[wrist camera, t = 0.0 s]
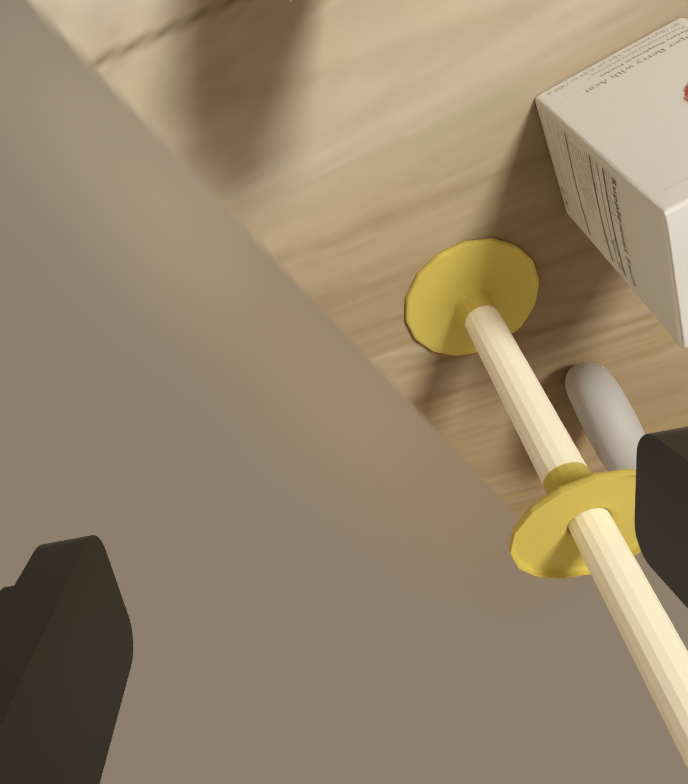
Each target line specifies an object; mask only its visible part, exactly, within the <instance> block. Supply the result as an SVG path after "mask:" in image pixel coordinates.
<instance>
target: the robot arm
mask: <svg viewBox="0 0 688 784" xmlns="http://www.w3.org/2000/svg"><path fill="white" fill-rule="evenodd" d="M634 522H635V533H636V538H637V541H638V544H639V547H640V550H641V552H642V554H643V556H644V558H645V559H646V561H647V563H648V564H649V565H650V567H651V568H652V569H653V570H654V571H655V572H656V573H657V574H658V576H659V577H660V578H661V579H662V580H663V581H664V582H665V583H666V584H667V585H668V587H669V588H670V589H671V590H672V591H673V592H674V593H675V595H676V596H677V597H678V598H679V599H680V600H681V601H682V602H683V603H684V605H685V606H686V607H687V608H688V427H683V428H677V429H672V430H667V431H661V432H656V433H650V434H646V435H643V436H642V437H641V438H640V440H639V442H638V446H637V453H636V487H635V520H634ZM132 658H133V635H132V628H131V623H130V619H129V616H128V614H127V610H126V607H125V605H124V602H123V599H122V596H121V593H120V590H119V587H118V585H117V582H116V579H115V576H114V573H113V570H112V567H111V564H110V561H109V559H108V556H107V553H106V550H105V548H104V545H103V544H102V542H101V540H100V539H99V538H98V537H97V536H95V535H91V536H86V537H80V538H75V539H69V540H64V541H58V542H53V543H48V544H42V545H40V546H38V547H37V548H36V550H35V551H34V553H33V554H32V556H31V558H30V560H29V561H28V563H27V565H26V566H25V568H24V570H23V572H22V574H21V575H20V577H19V578H18V580H17V582H16V584H15V585H14V586H10V587H5V588H3V589H2V590H0V784H100V780H101V776H102V773H103V769H104V765H105V761H106V757H107V754H108V750H109V746H110V742H111V739H112V735H113V731H114V728H115V724H116V720H117V716H118V713H119V709H120V706H121V702H122V698H123V694H124V691H125V687H126V683H127V679H128V676H129V672H130V668H131V664H132Z"/></svg>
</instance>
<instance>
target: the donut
mask: <svg viewBox="0 0 688 784" xmlns="http://www.w3.org/2000/svg"><path fill="white" fill-rule="evenodd" d="M565 388H566V391H567V394H568V397H569V400H570V402H571V404H572V407H573V409H574V411H575V413H576V415H577V417H578V420H579V422H580V424H581V426H582V428H583V430H584V431H585V433H586V435H587V437H588V439H589V441H590V443H591V445H592V447H593V448H594V450H595V452H596V454H597V455H598V457H599V459H600V460H601V462H602V463H603V465H604V466H605V468H606V469H607V471H614V470H621V469H634V470H636V453H637V446H638V442H639V440H640V438H641V437H642V436H643V435H645V433H644V431H643V428H642V426H641V424H640V422H639V420H638V418H637V416H636V414H635V412H634V410H633V408H632V406H631V404H630V403H629V401H628V399H627V397H626V396H625V394H624V392H623V391H622V389H621V388H620V386H619V384H618V383H617V381H616V380H615V379H614V377H613V376H612V375H611V373H610V372H609V371H608V370H607V369H606V368H605V367H603V366H602V365H601V364H598V363H595V362H581V363H578V364H576V365H574V366H573V367H571V369H570V370H569V371H568V372H567V375H566V378H565Z"/></svg>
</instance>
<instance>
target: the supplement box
mask: <svg viewBox="0 0 688 784" xmlns="http://www.w3.org/2000/svg"><path fill="white" fill-rule="evenodd" d="M535 102H536V106H537V110H538V113H539V117H540V120H541V124H542V127H543V131H544V134H545V138H546V141H547V145H548V148H549V152H550V155H551V159H552V162H553V166H554V170H555V173H556V177H557V180H558V184H559V187H560V191H561V194H562V198H563V201H564V205H565V208H566V211H567V214H568V215H569V216H570V217H571V218H572V219H573V221H574V222H575V223H576V224H577V225H578V226H579V227H580V229H581V230H582V231H583V232H584V233H585V234H586V236H587V237H588V238H589V239H590V240H591V241H592V243H593V244H594V245H595V246H596V247H597V249H598V250H599V251H600V252H601V253H602V254H603V255H604V257H605V258H606V259H607V260H608V261H609V262H610V264H611V265H612V266H613V267H614V268H615V269H616V271H617V272H618V273H619V274H620V275H621V277H622V278H623V279H624V280H625V281H626V282H627V284H628V285H629V286H630V287H631V288H632V290H633V291H634V292H635V293H636V294H637V295H638V296H639V298H640V299H641V300H642V301H643V302H644V304H645V305H646V306H647V307H648V308H649V309H650V310H651V312H652V313H653V314H654V315H655V316H656V318H657V319H658V320H659V321H660V322H661V323H662V325H663V326H664V327H665V328H666V330H667V331H668V332H669V333H670V334H671V336H672V337H673V338H674V339H675V341H676V342H677V344H678V345H679V346H680V347H681V348H687V347H688V20H686V19H684V18H679V19H677V20H675V21H673V22H671V23H670V24H668V25H666V26H664V27H662V28H660V29H658V30H657V31H655V32H653V33H651V34H649V35H647V36H646V37H644V38H642V39H640V40H638V41H637V42H635V43H633V44H631V45H629V46H627V47H625V48H624V49H622V50H620V51H618V52H616V53H614V54H613V55H611V56H609V57H607V58H605V59H604V60H602V61H600V62H598V63H596V64H594V65H593V66H591V67H589V68H587V69H585V70H583V71H581V72H580V73H578V74H576V75H574V76H572V77H570V78H569V79H567V80H565V81H563V82H561V83H560V84H558V85H556V86H554V87H553V88H551V89H549V90H547V91H545V92H544V93H542V94H540V95H539V96H537V97H536V99H535Z"/></svg>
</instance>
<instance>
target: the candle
mask: <svg viewBox="0 0 688 784" xmlns="http://www.w3.org/2000/svg"><path fill="white" fill-rule="evenodd" d="M538 288H539V278H538V275H537V272H536V268H535V265H534V262H533V260H532V259H531V258H530V257H529V256H528V255H527V254H526V253H525V252H524V251H522V250H521V249H520V248H519V247H518V246H517V245H516V244H512V243H509V242H505V241H501V240H498V239H494V238H487V239H479V240H470V241H463V242H461V243H459V244H457V245H455V246H453V247H451V248H449V249H447V250H445V251H443V252H441V253H439V254H437V255H436V256H435V257H434V258H433V259H432V260H431V261H430V262H429V263H428V264H427V265H426V266H425V267H424V268H422V269H421V270H420V271H419V272H418V273H417V275H416V277H415V279H414V281H413V283H412V285H411V287H410V289H409V291H408V293H407V295H406V305H405V320H406V322H407V324H408V326H409V328H410V330H411V332H412V334H413V336H414V338H415V339H416V340H417V341H418V342H420V343H421V344H423V345H424V346H426V347H427V348H429V349H430V350H431V351H433V352H438V353H443V354H448V355H453V356H458V355H466V354H473V353H478V354H479V356H480V358H481V360H482V362H483V364H484V366H485V368H486V370H487V372H488V374H489V376H490V378H491V380H492V382H493V384H494V386H495V388H496V390H497V392H498V394H499V396H500V399H501V401H502V403H503V405H504V407H505V409H506V411H507V413H508V415H509V417H510V419H511V421H512V423H513V425H514V427H515V429H516V431H517V433H518V435H519V437H520V439H521V441H522V443H523V445H524V447H525V449H526V452H527V454H528V456H529V458H530V460H531V462H532V464H533V466H534V468H535V470H536V472H537V474H538V476H539V478H540V480H541V482H542V484H543V486H544V488H545V490H546V492H547V494H548V495H547V496H545V497H544V498H542V499H541V500H539V501H538V502H536V503H535V504H533V505H532V506H530V508H529V509H528V510H527V511H526V513H525V514H524V515H523V516H522V517H521V519H520V520H519V521H518V522H517V524H516V525H515V526H514V527H513V531H512V535H511V540H510V544H509V552H510V554H511V556H512V558H513V560H514V561H515V563H516V565H517V567H518V568H519V569H521V570H523V571H525V572H527V573H529V574H531V575H534V576H536V577H544V578H559V579H564V578H570V577H576V576H582V575H588V574H591V575H592V577H593V579H594V581H595V583H596V585H597V587H598V589H599V591H600V593H601V595H602V597H603V599H604V601H605V603H606V605H607V607H608V609H609V611H610V613H611V615H612V617H613V619H614V621H615V623H616V625H617V627H618V629H619V631H620V633H621V635H622V637H623V639H624V641H625V643H626V645H627V647H628V649H629V651H630V653H631V655H632V657H633V659H634V661H635V663H636V665H637V667H638V669H639V671H640V674H641V675H642V678H643V680H644V681H645V684H646V685H647V688H648V690H649V692H650V694H651V696H652V698H653V700H654V702H655V704H656V706H657V708H658V710H659V712H660V714H661V716H662V718H663V720H664V722H665V724H666V726H667V728H668V730H669V732H670V734H671V736H672V738H673V740H674V742H675V744H676V746H677V748H678V750H679V752H680V754H681V756H682V758H683V760H684V762H685V764H686V766H687V768H688V651H687V649H686V648H685V646H684V644H683V642H682V641H681V639H680V637H679V635H678V634H677V632H676V630H675V628H674V626H673V625H672V623H671V621H670V619H669V618H668V616H667V614H666V612H665V611H664V609H663V607H662V605H661V604H660V602H659V600H658V598H657V596H656V595H655V593H654V591H653V590H652V588H651V586H650V584H649V582H648V581H647V579H646V577H645V575H644V573H643V572H642V570H641V568H640V566H639V565H638V563H637V561H636V559H635V558H634V555H636V554H638V553H639V552H641V550H640V547H639V544H638V541H637V538H636V533H635V522H634V520H635V487H636V470H634V469H621V470H614V471H608V472H601V473H595V474H591V472H590V471H589V469H588V467H587V465H586V464H585V462H584V460H583V458H582V457H581V455H580V453H579V451H578V450H577V448H576V446H575V444H574V443H573V441H572V439H571V437H570V436H569V434H568V432H567V430H566V429H565V427H564V425H563V423H562V422H561V420H560V418H559V416H558V415H557V413H556V411H555V409H554V408H553V406H552V404H551V402H550V401H549V399H548V397H547V395H546V394H545V392H544V390H543V388H542V387H541V385H540V383H539V381H538V380H537V378H536V376H535V374H534V373H533V371H532V369H531V367H530V366H529V364H528V362H527V360H526V359H525V357H524V355H523V353H522V352H521V350H520V348H519V346H518V345H517V343H516V341H515V339H514V338H513V336H512V334H513V333H514V332H515V331H516V330H518V329H519V328H520V327H521V326H522V325H523V324H524V322H525V320H526V319H527V317H528V316H529V314H530V313H531V311H532V309H533V308H534V306H535V304H536V298H537V293H538Z"/></svg>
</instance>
